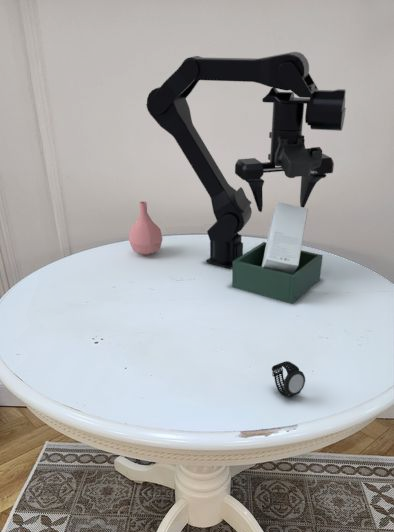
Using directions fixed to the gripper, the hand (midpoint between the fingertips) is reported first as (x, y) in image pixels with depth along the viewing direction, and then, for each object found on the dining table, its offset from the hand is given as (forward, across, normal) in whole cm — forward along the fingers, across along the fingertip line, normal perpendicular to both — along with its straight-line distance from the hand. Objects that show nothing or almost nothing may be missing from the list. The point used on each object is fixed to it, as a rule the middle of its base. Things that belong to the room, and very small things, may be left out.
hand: (281, 209), depth 109 cm
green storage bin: (+13, -3, -8) cm, 15 cm away
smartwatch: (+13, -15, -43) cm, 47 cm away
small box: (+9, -5, -12) cm, 15 cm away
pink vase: (+13, -26, +16) cm, 34 cm away
